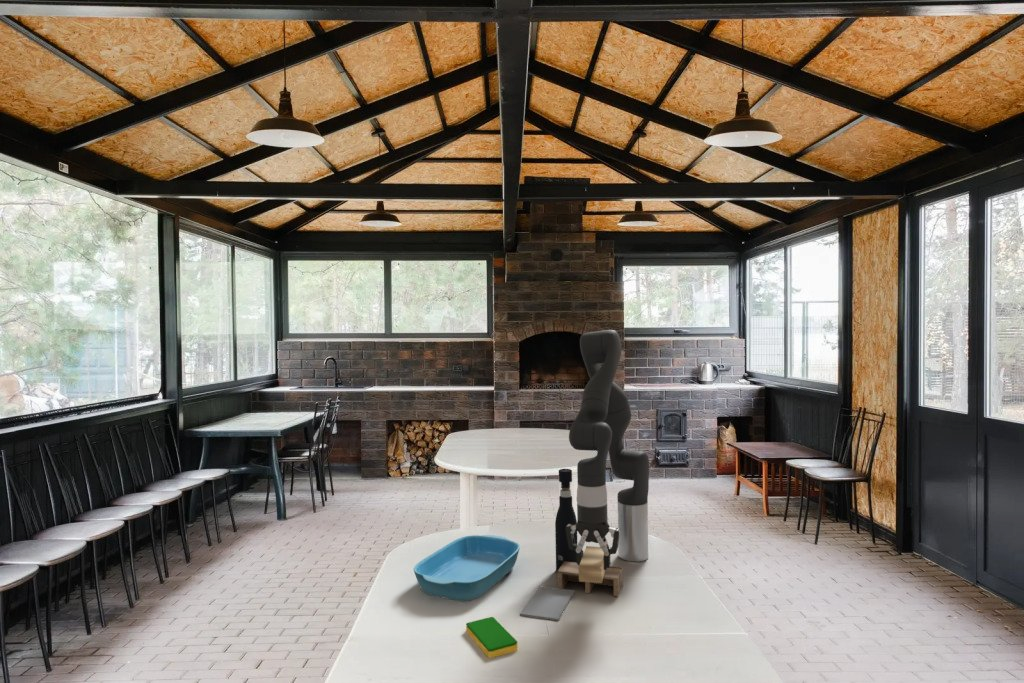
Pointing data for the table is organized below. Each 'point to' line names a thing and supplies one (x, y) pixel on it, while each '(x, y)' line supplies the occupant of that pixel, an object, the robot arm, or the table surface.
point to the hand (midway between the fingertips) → (593, 567)
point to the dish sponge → (491, 637)
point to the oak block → (592, 565)
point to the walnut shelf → (610, 578)
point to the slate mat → (547, 603)
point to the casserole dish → (467, 566)
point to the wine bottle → (564, 520)
